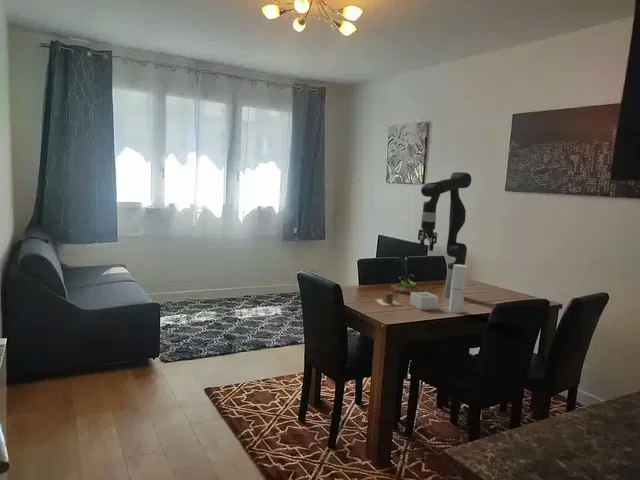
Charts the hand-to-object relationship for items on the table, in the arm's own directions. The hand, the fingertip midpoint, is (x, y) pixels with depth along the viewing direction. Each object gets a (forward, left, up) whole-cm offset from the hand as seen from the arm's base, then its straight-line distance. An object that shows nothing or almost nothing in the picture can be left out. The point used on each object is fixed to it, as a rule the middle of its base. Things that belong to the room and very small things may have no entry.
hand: (426, 249), depth 258 cm
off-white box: (+3, +7, -31) cm, 32 cm away
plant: (-9, -29, -32) cm, 44 cm away
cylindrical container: (-11, +17, -31) cm, 37 cm away
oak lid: (+19, -4, -32) cm, 37 cm away
